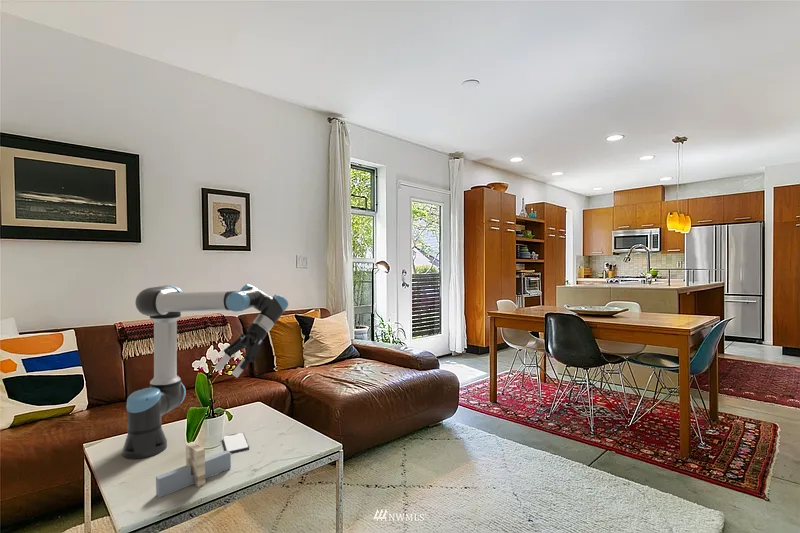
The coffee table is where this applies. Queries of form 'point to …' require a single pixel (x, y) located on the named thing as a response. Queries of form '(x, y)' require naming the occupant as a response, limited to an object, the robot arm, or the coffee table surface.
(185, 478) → the grey rail
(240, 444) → the phone case
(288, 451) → the coffee table surface
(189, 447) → the wooden arch block
